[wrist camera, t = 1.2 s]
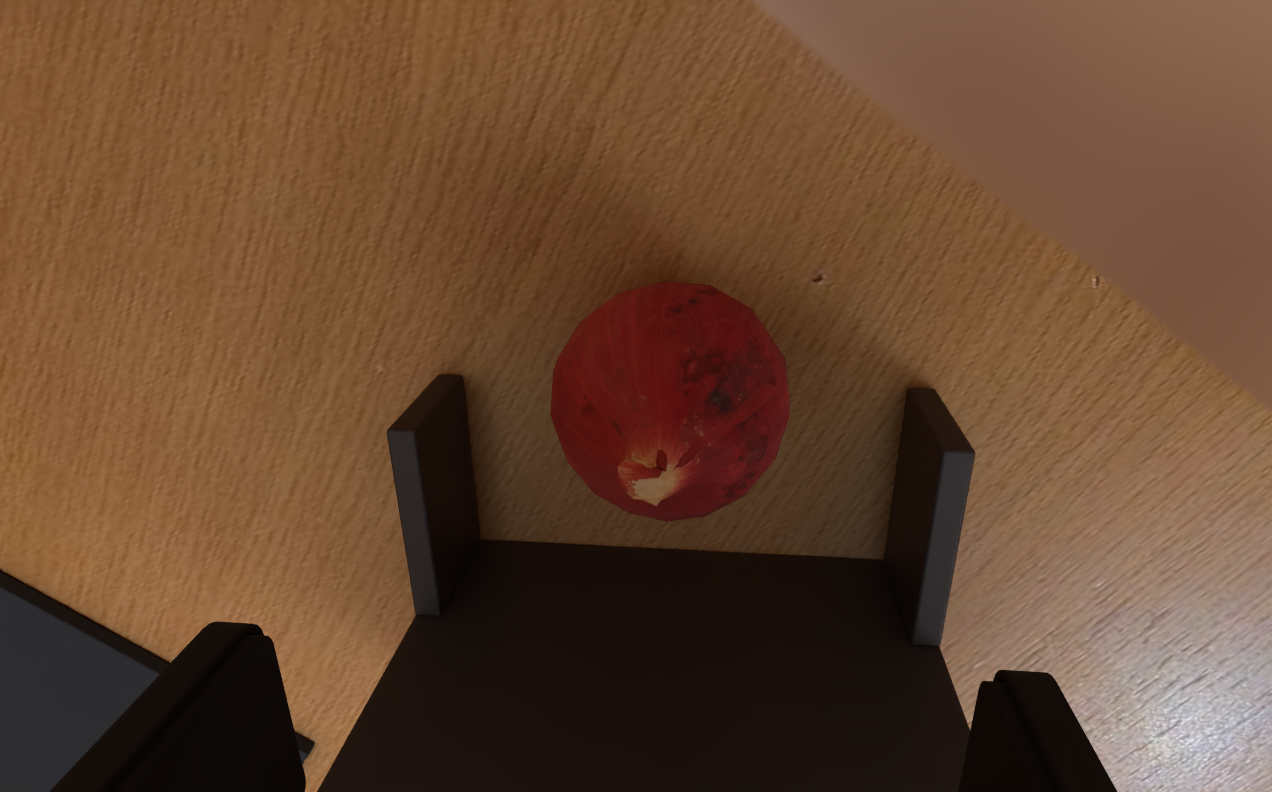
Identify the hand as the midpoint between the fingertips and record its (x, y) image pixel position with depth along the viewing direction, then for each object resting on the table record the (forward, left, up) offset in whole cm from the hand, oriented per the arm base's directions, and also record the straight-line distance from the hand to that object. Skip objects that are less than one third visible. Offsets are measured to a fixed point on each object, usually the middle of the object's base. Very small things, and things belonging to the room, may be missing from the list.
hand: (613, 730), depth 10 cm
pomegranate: (0, 0, -14) cm, 14 cm away
